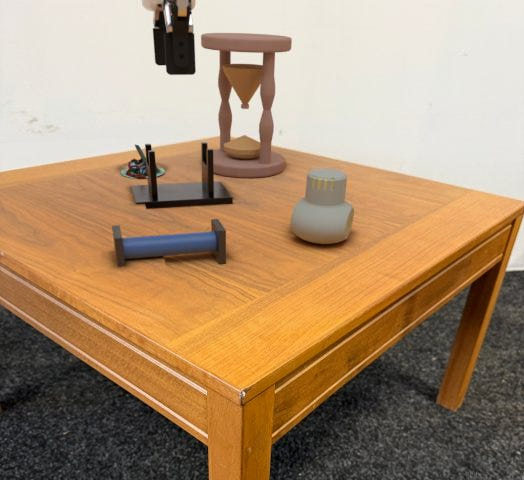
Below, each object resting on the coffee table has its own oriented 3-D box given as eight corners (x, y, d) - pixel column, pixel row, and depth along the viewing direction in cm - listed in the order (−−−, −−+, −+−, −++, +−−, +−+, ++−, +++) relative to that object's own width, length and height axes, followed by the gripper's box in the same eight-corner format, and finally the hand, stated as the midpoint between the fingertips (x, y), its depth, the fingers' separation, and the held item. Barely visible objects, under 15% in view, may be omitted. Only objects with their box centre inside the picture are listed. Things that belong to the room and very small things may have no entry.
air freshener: (304, 223, 91) (308, 161, 86) (353, 230, 89) (361, 167, 84) (285, 246, 82) (290, 179, 77) (340, 254, 80) (348, 186, 75)
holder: (136, 209, 94) (131, 155, 89) (131, 192, 102) (126, 141, 97) (232, 203, 98) (233, 151, 94) (220, 187, 106) (220, 139, 102)
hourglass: (191, 161, 122) (186, 32, 109) (258, 154, 130) (262, 33, 116) (227, 182, 110) (227, 38, 96) (300, 173, 117) (309, 39, 104)
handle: (118, 273, 72) (114, 238, 70) (115, 258, 76) (111, 225, 74) (226, 263, 76) (225, 230, 74) (218, 250, 80) (218, 218, 77)
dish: (170, 163, 111) (137, 139, 109) (150, 192, 110) (117, 168, 108) (166, 172, 118) (136, 150, 116) (147, 199, 118) (117, 177, 116)
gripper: (120, -109, 62) (135, 62, 71) (134, -138, 48) (151, 79, 57) (186, -104, 64) (192, 62, 73) (218, -131, 50) (221, 78, 59)
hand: (174, 69), depth 65 cm, fingers open, 9 cm apart
